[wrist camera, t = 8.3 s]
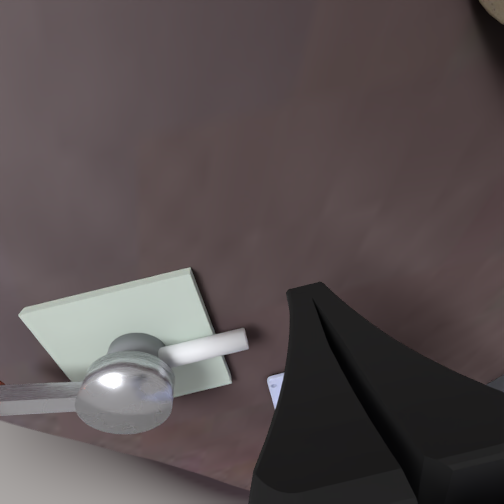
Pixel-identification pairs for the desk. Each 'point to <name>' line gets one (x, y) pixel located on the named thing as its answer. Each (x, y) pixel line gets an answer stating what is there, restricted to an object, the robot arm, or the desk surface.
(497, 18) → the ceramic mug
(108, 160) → the desk surface
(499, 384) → the disk drive
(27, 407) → the key lever
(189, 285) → the base
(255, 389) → the desk surface
